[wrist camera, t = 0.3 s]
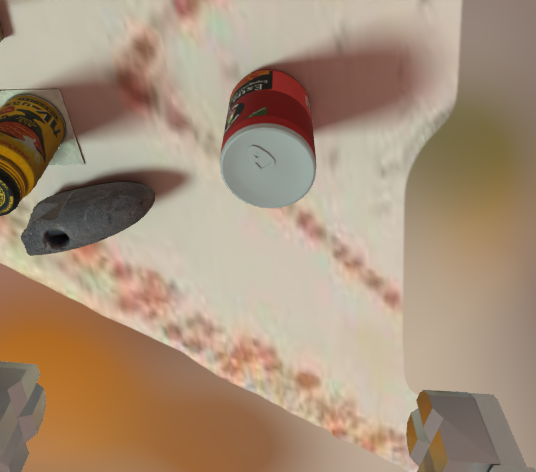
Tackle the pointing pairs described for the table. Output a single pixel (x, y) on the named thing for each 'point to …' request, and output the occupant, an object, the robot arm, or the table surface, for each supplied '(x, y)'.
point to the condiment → (32, 141)
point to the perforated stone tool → (85, 216)
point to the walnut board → (1, 34)
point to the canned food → (268, 141)
